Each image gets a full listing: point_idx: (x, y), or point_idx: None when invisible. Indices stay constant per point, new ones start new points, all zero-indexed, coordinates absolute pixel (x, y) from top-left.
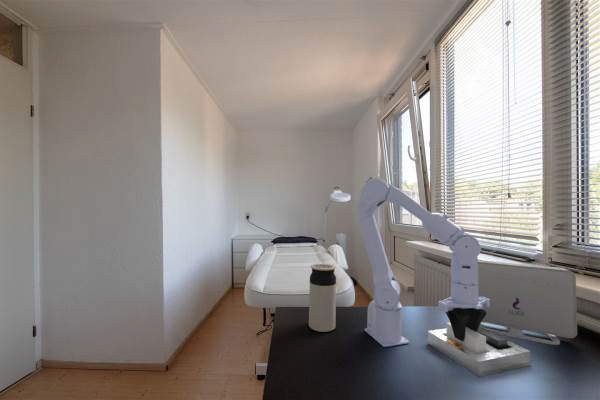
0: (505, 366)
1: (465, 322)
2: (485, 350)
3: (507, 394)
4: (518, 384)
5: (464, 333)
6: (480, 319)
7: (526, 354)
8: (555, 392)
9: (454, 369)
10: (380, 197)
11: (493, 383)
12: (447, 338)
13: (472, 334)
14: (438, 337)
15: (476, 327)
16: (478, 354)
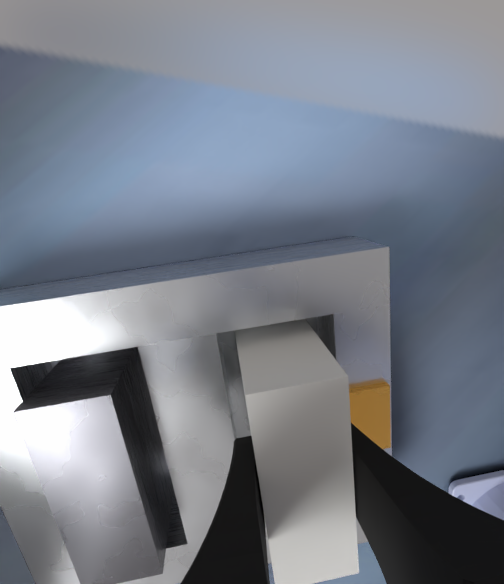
0: (175, 267)
1: (425, 513)
2: (242, 346)
3: (338, 107)
4: (211, 162)
5: (360, 446)
6: (223, 566)
7: None
8: (69, 74)
9: (413, 298)
10: None
11: (329, 187)
12: None
13: (323, 428)
14: None
15: (247, 496)
16: (325, 311)
